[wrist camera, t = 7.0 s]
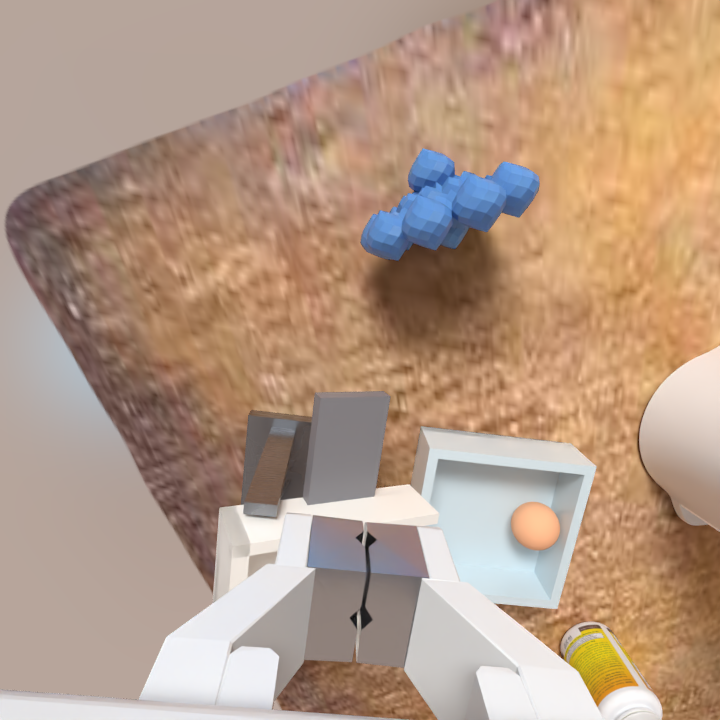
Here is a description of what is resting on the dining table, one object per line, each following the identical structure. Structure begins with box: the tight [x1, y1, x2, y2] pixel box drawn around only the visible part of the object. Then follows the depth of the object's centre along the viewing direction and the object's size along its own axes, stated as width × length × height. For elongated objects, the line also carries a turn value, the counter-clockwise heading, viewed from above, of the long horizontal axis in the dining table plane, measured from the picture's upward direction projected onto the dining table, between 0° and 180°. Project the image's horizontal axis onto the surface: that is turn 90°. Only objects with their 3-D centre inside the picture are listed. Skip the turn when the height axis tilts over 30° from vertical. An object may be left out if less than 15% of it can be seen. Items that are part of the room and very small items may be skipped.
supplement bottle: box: [560, 622, 662, 720], centre depth 44 cm, size 6×6×10 cm
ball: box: [511, 502, 560, 551], centre depth 42 cm, size 4×4×4 cm
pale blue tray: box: [410, 426, 596, 609], centre depth 42 cm, size 14×14×4 cm
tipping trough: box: [213, 391, 439, 603], centre depth 32 cm, size 14×16×4 cm
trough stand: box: [241, 410, 312, 517], centre depth 37 cm, size 6×13×13 cm, turn 172°
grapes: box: [361, 149, 540, 261], centre depth 32 cm, size 12×7×12 cm, turn 111°
